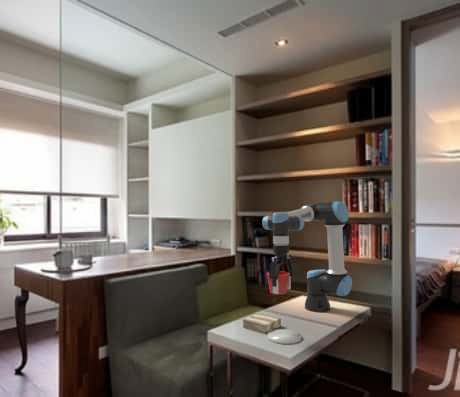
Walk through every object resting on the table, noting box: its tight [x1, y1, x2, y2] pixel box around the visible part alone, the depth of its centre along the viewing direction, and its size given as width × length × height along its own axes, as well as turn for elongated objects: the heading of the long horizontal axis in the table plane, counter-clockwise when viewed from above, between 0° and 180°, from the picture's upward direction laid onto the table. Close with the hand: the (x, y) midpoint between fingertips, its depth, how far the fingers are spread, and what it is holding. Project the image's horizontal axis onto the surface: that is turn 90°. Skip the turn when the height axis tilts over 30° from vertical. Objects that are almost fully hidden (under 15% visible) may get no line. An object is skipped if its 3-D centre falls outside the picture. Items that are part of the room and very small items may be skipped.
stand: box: [242, 312, 282, 334], centre depth 178 cm, size 14×14×4 cm
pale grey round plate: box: [267, 328, 303, 345], centre depth 163 cm, size 16×16×1 cm
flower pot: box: [266, 270, 289, 295], centre depth 166 cm, size 11×11×10 cm
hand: (281, 291), depth 164 cm, fingers closed on flower pot, 10 cm apart
